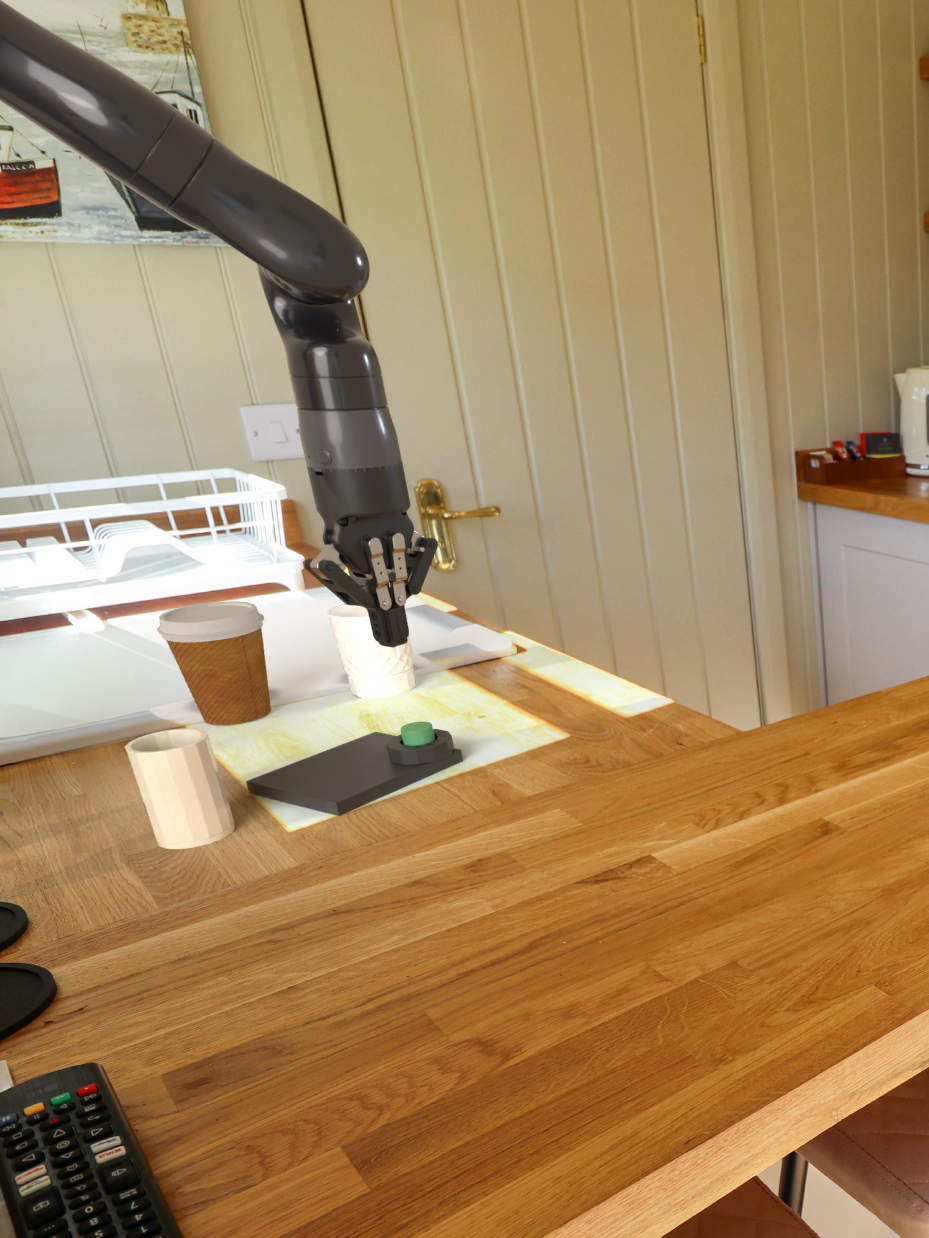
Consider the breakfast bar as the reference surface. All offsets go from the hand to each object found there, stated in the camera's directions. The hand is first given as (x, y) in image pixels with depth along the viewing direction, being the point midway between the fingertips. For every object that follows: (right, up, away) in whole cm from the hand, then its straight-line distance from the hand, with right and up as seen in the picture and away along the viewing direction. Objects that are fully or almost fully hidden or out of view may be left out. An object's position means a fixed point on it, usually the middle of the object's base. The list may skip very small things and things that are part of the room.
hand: (393, 644), depth 105 cm
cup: (-12, -18, -9) cm, 23 cm away
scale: (-5, -13, +3) cm, 14 cm away
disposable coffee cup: (-27, -6, +17) cm, 33 cm away
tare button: (0, -9, +4) cm, 10 cm away
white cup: (-16, -3, +26) cm, 31 cm away
